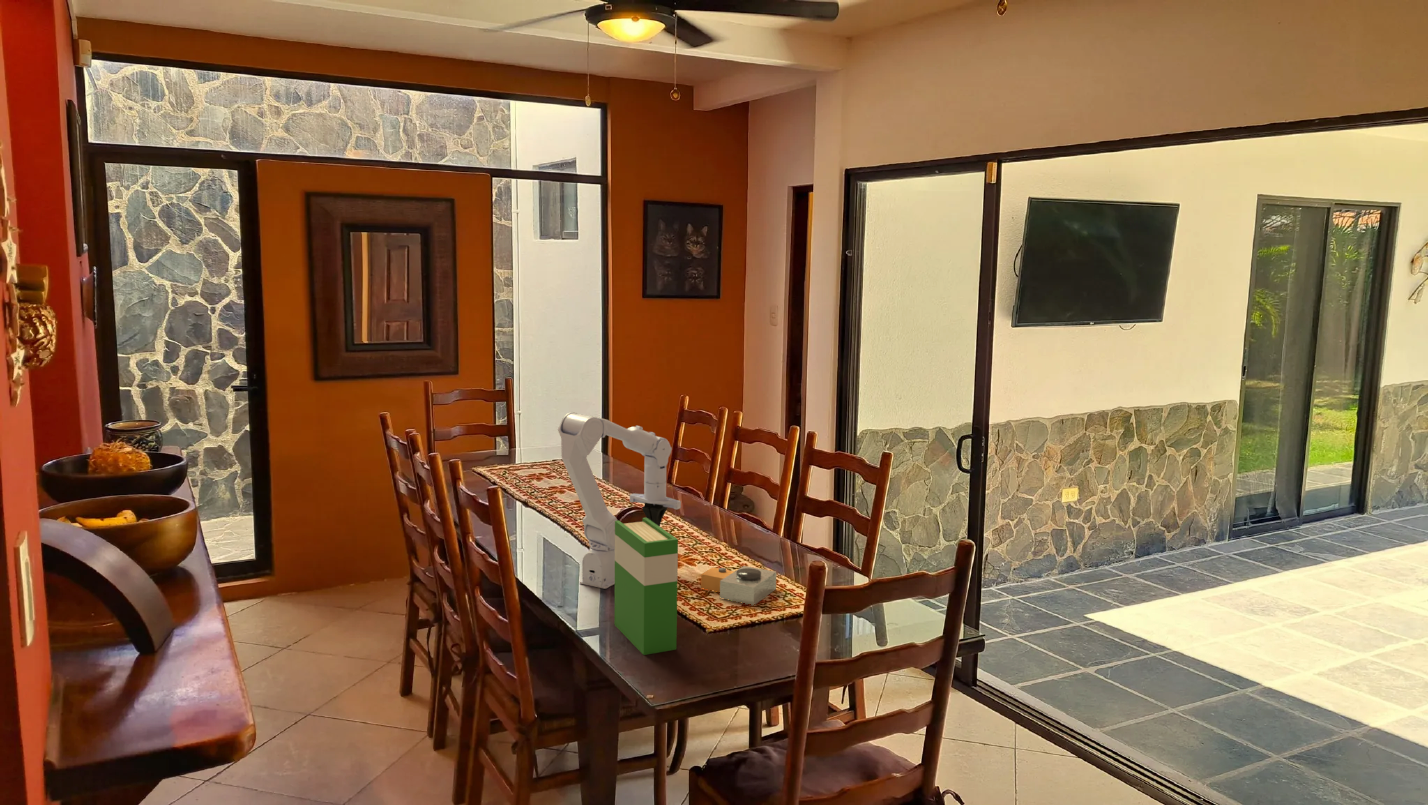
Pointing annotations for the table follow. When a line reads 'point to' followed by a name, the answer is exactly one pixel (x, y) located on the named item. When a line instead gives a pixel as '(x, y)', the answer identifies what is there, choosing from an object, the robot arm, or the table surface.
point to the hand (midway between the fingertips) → (654, 531)
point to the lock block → (714, 578)
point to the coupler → (748, 585)
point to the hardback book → (646, 585)
